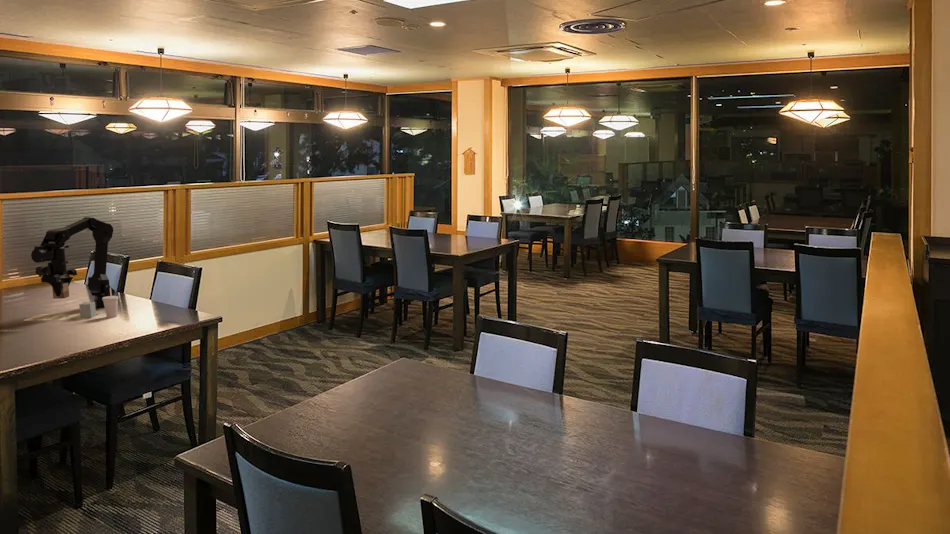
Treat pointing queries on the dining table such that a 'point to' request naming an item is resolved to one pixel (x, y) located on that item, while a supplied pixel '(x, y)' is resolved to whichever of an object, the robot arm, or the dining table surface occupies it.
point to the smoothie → (110, 305)
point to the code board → (56, 317)
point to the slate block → (87, 310)
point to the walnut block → (62, 292)
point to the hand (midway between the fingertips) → (61, 295)
